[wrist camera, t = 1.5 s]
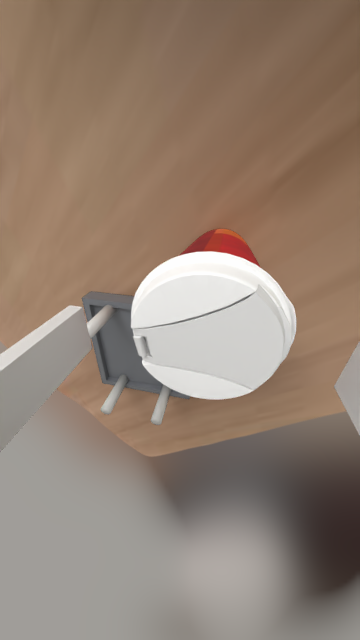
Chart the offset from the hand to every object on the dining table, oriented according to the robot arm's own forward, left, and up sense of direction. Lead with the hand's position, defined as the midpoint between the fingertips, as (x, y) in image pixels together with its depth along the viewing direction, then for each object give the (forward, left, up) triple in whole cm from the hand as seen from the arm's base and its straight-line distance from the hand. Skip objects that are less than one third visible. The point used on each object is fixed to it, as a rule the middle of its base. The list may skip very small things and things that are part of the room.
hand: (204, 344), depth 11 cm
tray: (+13, -9, -14) cm, 21 cm away
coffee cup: (0, 0, -15) cm, 15 cm away
